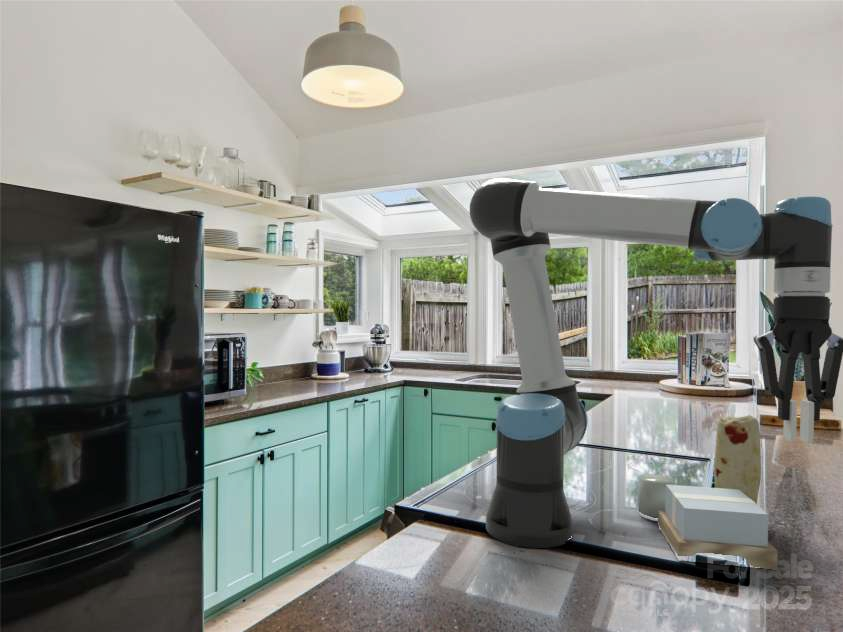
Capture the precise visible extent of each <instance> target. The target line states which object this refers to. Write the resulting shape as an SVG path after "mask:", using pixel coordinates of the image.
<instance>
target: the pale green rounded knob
mask: <svg viewBox="0 0 843 632" xmlns="http://www.w3.org/2000/svg"><path fill="white" fill-rule="evenodd" d="M666 485H676V479H674V478H672V477H671V476H670V477H669V476H667V475H663V474H655V473H649V474H648V473H644V474H640V475H639V476H638V504H637V506H638V507H637V509H638V510H639V512H641V513H642V514H644V515H647V516H650V517H653V518H658V510H660V511H665V508H666Z"/></svg>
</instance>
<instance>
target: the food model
mask: <svg viewBox="0 0 843 632" xmlns="http://www.w3.org/2000/svg"><path fill="white" fill-rule="evenodd" d="M760 433H761V432H760V423H759V421H758V420H757V418H756V417H755V416H752V415H745V416H739V417H731V416H726V417H725V416H723V417H722V416H721V417H719V418H718V419H717V427H716V439H715V452H714V459H713V460H714V461H713V476H714V477H713V480H714V488H724V489H739V490H740V491H741V492H743V493H744V494H745V495H746V496H747V497H748V498H750V499H751V500H753V501H754V502H755V503H756V504H757V505H758V497H759V491H760V485H761V476H762V475H761V474H762V468H761V467H762V463H761V462H762V460H761V459H762V457H761V452H762V451H761V434H760Z"/></svg>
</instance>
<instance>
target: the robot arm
mask: <svg viewBox="0 0 843 632" xmlns="http://www.w3.org/2000/svg"><path fill="white" fill-rule="evenodd" d="M469 216H470V220H471V223H472V225H473V227H474V229H476V231H477V232H478V233H480V234H481V236H483V237H485V238H488V239H489V241H490V244H491V251H492V256H493V260H494V261H496V262H498V263H499V264H500V265H501V266H502V270H503V277H504V281H505V282H504V283H505V287H506V292H507V299H508V305H509V310H510V316H511V322H512V328H513V332H514V333H513V334H514V340H515V344H516V350H517V357H518V363H519V367H520V373H521V380H522V381H521V383H520V385H519V386H518V387H517V389H516V394H514V395H513V394H512V395H510V396H508V397H506V398H504V399H502V400H501V401H500V402H499V404H498V408H497V415H496V420H495V424H496V482H495V483H496V484H495V488H494V491H493V493H492V496H491V500H490V502H489V505H488V509H487V511H486V515H485V529H486V532H487V533H488V534H489V535H490V536H491V537H493V538H495V540H498V541H500V542H502V543H505V544H508V545H512V546H516V547H522V548H530V549H546V548H547V549H548V548H555V547H560V546H563V545H565V544H566V543H565V542H566V541H567V540H568V539H569V538H571V536H572V535H573V536H574V520H573V516H572V514H571V511H570V507H569V503H568V501H567V497H566V494H565V490H564V472H565V471H564V468H565V463H564V461H565V455H566V454H567V453H568V452H570V451H572V450H574V449H575V448H576V447H577V446H578V445H579V444H580V443H581V442H582V440H583V439H584V437H585V434H586V431H587V428H588V423H589V422H588V419H589V418H588V414H587V411H586V408H585V405H584V404H583V402H582V401H581V400H580V398H579V396H578V391H577V386H576V382H575V380H574V379H572V378H570V377H569V376H568V375H567V374H566V369H565V363H564V358H563V352H562V345H561V341H560V335H559V330H558V325H557V323H558V322H557V319H556V313H555V308H554V302H553V296H552V290H551V287H550V280H549V274H548V268H547V263H546V256H547V254H548V253H549V251H550V249H551V243H550V242H551V241H550V236H549V234H553V235H563V236H570V237H580V238H581V237H582V238H588V239H590V238H591V239H596V240H597V239H599V240H608V241H617V242H627V243H635V244H644V245H646V244H647V245H653V246H655V245H656V246H662V247H663V246H664V247H671V248H681V249H689V250H693V257H694V258H695V259H696V260H697V261H703V262H706V261H711V262H715V263H716V262H721V261H725V262H726V261H745V260H746V261H747V260H749V261H750V260H774V267H773V268H774V270H773V293H775V294H777V296H775V297H774V298H773V307H772V309H773V311H772V312H773V313H772V317H773V322H772V325H771V327H769V328H770V329H769V331H768V332H766V333H763V334H761V335H755V336H753V342H754V343H755V345H756V347H757V349H758V351H759V357H760V358H759V359H760V365H761V372H762V379H763V384H764V385H763V386H764V391H765V394H766V395H770V396H772V397H775V398H776V399H777V416H778V419H779V420H782V421H783V431H782V433H783V435H782V437H783V438H782V439H784V440H785V441H788V442H789V443H797V419H798V416H797V415H798V413H797V412H798V410H797V409H798V401H795V400H792V397H793V390H794V383H795V373H796V367H797V359H799V356H800V355H801V358H802V359H803V360H802V361H803V362H802V363H803V373H804V375H803V376H804V387H805V388H804V389H805V396H806V399H800V414H799V415H800V418H799V419H800V421H799V424H800V425H799V440H801V441H803V442H805V443H807V444H814V435H815V434H814V433H815V431H814V429H815V428H814V425H815V423H816V422H819V421H820V419H821V415H820V414H821V403H822V404H823V403H824V402H825V400H827V399H833V398H835V395H836V390H837V385H838V379H839V374H840V371H841V370H840V369H841V365H842V359H843V337H841V336H840V335H837V334H835V333H833V330H832V328H831V326H830V322H829V321H830V317H831V316H830V315H831V314H830V313H831V298H829V296H826V294H828V293H830V292H831V272H832V271H831V268H832V267H831V261H832V260H831V257H832V237H833V224H832V205H831V202H830V201H829V200H828V199H827V198H826V197H821V196H799V197H792V198H786V199H783V200H779V201H778V202H776V204H775V209H774V210H773V212H770V213H762V214H760V213H759V210H758V209H757V208H756V206H755V205H754V204H753V203H752V202H750V201H748V200H746V199H743V198H738V197H737V198H736V197H731V198H730V197H729V198H725V199H722V200H719V201H718V200H717V201H715V200H701V199H700V200H699V199H693V198H692V199H691V198H675V197H663V196H662V197H661V196H651V195H649V196H648V195H637V194H623V193H622V194H621V193H609V192H598V191H597V192H596V191H595V192H594V191H582V190H581V191H580V190H568V189H556V188H544V187H543V188H542V186H541V185H540V184H539V183H538V182H537V181H530V180H529V181H528V180H519V179H513V178H505V177H498V178H492V179H489V180H488V181H486V182H484V183H482V184H481V185H480V186H479V187H478V188H476V190H475V192H474V193H473V195H472V198H471V200H470V203H469ZM774 340H775V342H776V343H777V344H778V345H779V347H780V353H779V355H780V358H781V359H780V365H779V373H778V372H777V368H776V367H777V366H776V361H775V360H776V359H775V352H774V348H773V345H774V344H775V343H774ZM824 344H826V346H827V349H826V351H825V354H824V355H825V357H824V361H823V366H822V372H821V371H820V370H821V369H820V368H821V367H820V359H821V348H822V347H823V345H824ZM800 353H801V354H800ZM799 354H800V355H799ZM777 373H778V374H779V375H778V374H777Z"/></svg>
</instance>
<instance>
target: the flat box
mask: <svg viewBox="0 0 843 632" xmlns="http://www.w3.org/2000/svg"><path fill="white" fill-rule="evenodd" d="M665 512H666V514H667V515H668V517H669V518H670V520H671V521H672V523H673V525H674V526H675V528H676V529H677V530H678V532H679V533H680V535H681V536H682V538H683V539H684V540H695V541H706V542H718V543H729V544H741V545H753V546H764V547H768V542H769V513H768V512H766V511H765V510H763V508H762V507H760V506H759V505H758V503H757V504H756V503H755V502H754V501H753V500H751V499H750V498H748V497H747V496H746V495H745V494H744V493H743V492H741V491H740V490H739V489H724V488H715V487H707V486H706V487H705V486H696V485H695V486H694V485H693V486H692V485H679V484H675V485H666V508H665Z"/></svg>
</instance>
